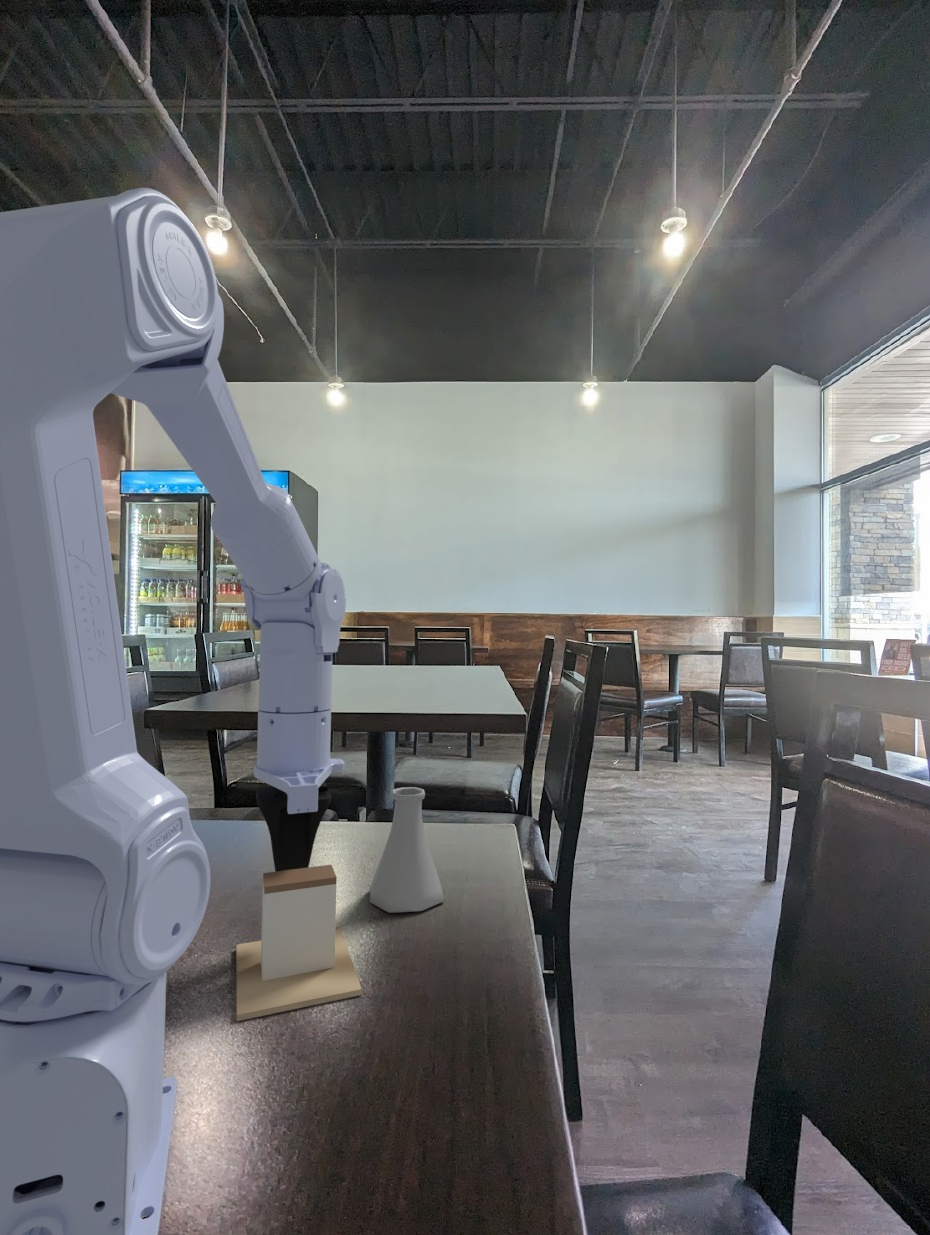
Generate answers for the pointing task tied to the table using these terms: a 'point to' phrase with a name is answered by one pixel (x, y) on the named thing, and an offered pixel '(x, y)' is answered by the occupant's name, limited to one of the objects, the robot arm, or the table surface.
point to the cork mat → (291, 983)
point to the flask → (406, 860)
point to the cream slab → (298, 921)
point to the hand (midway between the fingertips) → (291, 878)
